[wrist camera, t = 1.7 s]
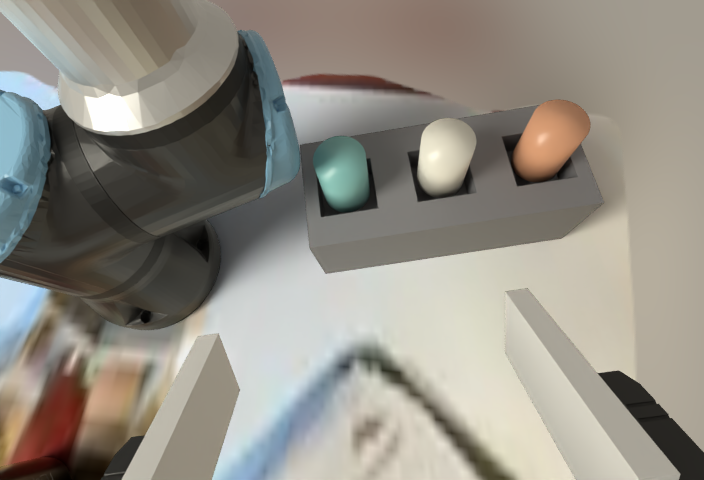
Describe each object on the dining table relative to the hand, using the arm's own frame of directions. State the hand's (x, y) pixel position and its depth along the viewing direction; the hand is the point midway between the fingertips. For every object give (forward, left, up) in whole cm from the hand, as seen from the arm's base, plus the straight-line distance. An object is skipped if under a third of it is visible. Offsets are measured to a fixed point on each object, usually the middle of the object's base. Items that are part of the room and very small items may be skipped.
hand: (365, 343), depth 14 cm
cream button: (-4, +18, -19) cm, 26 cm away
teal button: (-11, +12, -19) cm, 25 cm away
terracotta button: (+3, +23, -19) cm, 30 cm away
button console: (-4, +18, -27) cm, 32 cm away
